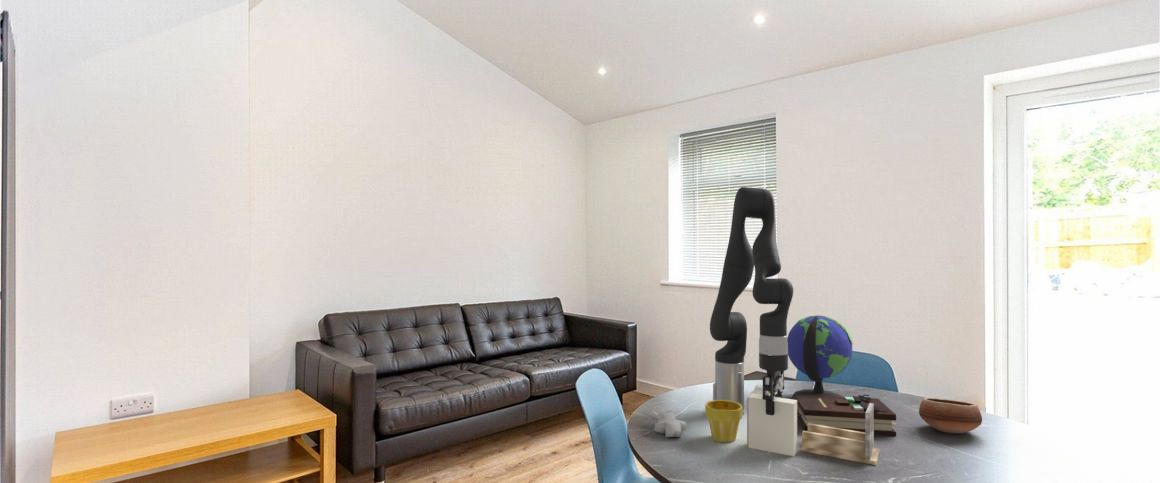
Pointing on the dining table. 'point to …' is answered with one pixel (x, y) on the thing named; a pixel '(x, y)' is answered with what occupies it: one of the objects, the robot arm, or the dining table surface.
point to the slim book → (772, 425)
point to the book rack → (843, 441)
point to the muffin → (758, 390)
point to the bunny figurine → (668, 424)
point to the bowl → (950, 415)
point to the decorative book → (844, 413)
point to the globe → (819, 351)
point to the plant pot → (723, 419)
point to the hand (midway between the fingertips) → (774, 410)
